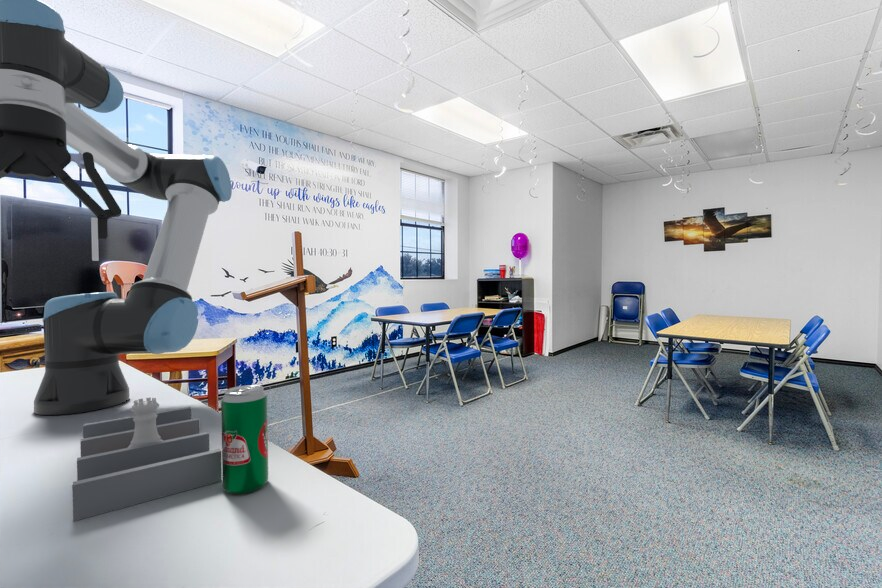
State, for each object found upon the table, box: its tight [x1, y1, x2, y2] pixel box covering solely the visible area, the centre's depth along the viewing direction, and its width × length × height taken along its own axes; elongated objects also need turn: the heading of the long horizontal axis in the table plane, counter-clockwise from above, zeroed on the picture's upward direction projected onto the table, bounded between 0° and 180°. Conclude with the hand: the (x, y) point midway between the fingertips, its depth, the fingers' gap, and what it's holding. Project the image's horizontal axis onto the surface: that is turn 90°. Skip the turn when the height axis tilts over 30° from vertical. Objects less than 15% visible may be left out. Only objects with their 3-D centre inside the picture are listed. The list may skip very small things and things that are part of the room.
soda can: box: [220, 384, 269, 496], centre depth 50 cm, size 5×5×12 cm
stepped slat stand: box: [71, 406, 223, 522], centre depth 57 cm, size 25×14×4 cm, turn 39°
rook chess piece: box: [128, 397, 163, 448], centre depth 57 cm, size 4×4×8 cm
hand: (34, 259), depth 60 cm, fingers open, 13 cm apart
